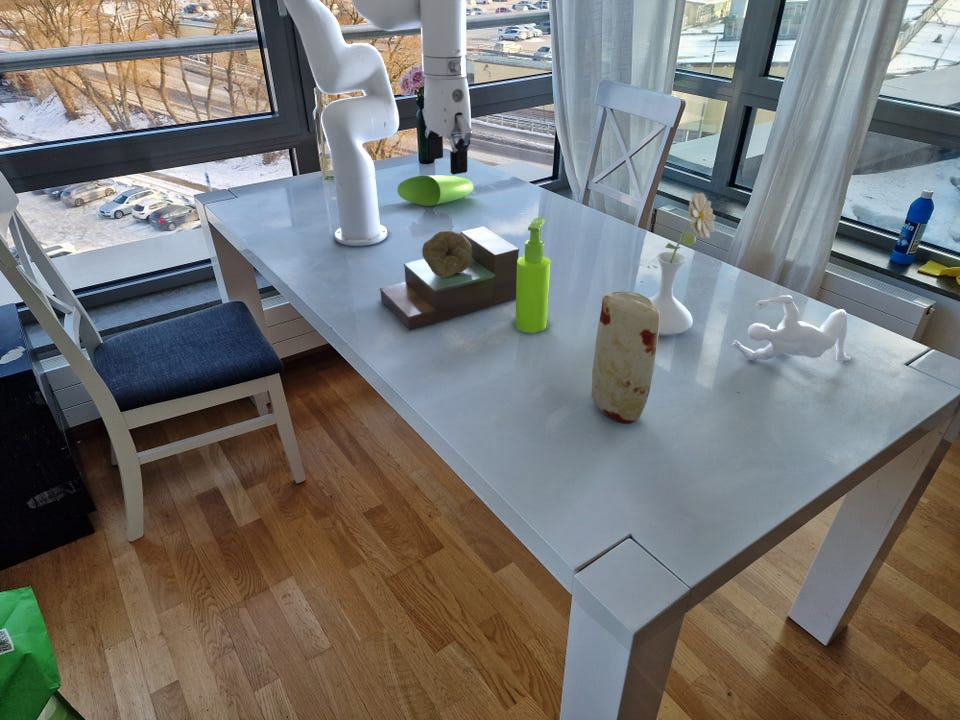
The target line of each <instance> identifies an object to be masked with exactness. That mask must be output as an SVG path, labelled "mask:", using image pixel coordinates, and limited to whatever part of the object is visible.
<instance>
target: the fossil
mask: <svg viewBox="0 0 960 720" xmlns="http://www.w3.org/2000/svg"><path fill="white" fill-rule="evenodd" d="M421 251H422V252H421V254H422V258H423V259H425V261H426V262H427V264H428V265H429V267H430V268H431V270H432V272H433V273H434V274H436V275H437V276H440V277H443V278H447V277H451V276H452V275H454V274H455V273H458V272H462V271H464V270H466V269H467V268H468V267H469V265H470V264H471V261H472V246H471V244H470V242H469V241H468V240H467V239H466V237H465V236H464V235H463V234H461V232H456V231H452V230H441V231H438V232H437V233H435V234H434V235H433V236H432V237H431V238H430V239H428V240H427V241H425V242H424V243H423V245H422V250H421Z"/></svg>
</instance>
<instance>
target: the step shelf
mask: <svg viewBox="0 0 960 720" xmlns="http://www.w3.org/2000/svg"><path fill="white" fill-rule="evenodd" d="M460 233H461V234H463V235H464V236H465V237H466V239H467V240H468V241H469V242H470V244H471V246H472V261H471V264H470V265H469V267H468V268H467V269H466V270H464V271H462V272H458V273H455V274H454V275H452V276H451V277H447V278H443V277H440V276H437V275H436V274H434V273H433V272H432V270H431V268H430V267H429V265H428V264H427V262H426V261H425V259H424V258H421V259H418V260H414V261H413V260H412V261H410V262H409V261H408V262H405V263H403V268H404V278H405V279H404V280H405V281H404V282H403V281H402V282H400V283H394V284H392V285H388V286H383V287H380V288H379V291H380V299H381V303H382V304H383V305H384V306H385V307H386V308H387V309H388V310H389V311H390V312H391V313H392V314H393V315H394V317H396V319H397V320H398V321H399V322H400V323H401V324H402V325H403V326H404V327H405V328H406V329H407V330H408V331H413V330H416V329H420V328H422V327H425V326H429V325H433V324H437V323H439V322H443V321H447V320H450V319H454V318H457V317H460V316H463V315H468V314H471V313H475V312H478V311H481V310H484V309H488V308H491V307H495V306H498V305H501V304H504V303H509V302H512V301H516V284H517V260H518V258H519V255H520V254H519V252H520V248H519V247H517V246H515V244H512V243H511V242H509V241H507V240H506V239H504V238H503V237H502V236H500V235H498V234H497V233H495V232H493V231H492V230H490V229H489V228H487V227H485V226H484V225H483V226H480V227H475V228H470V229H466V230H461V231H460Z"/></svg>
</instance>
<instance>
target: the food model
mask: <svg viewBox="0 0 960 720" xmlns="http://www.w3.org/2000/svg"><path fill="white" fill-rule="evenodd" d="M648 298H649V297H646V296H644V295H642V294H640V293H636V292H631V291H615V292H612V293H609V294H604V295H603V296H602V300H601V307H600V309H601V310H600V314H599V320H598V324H597V329H596V337H595V347H594V356H593V362H592V363H593V364H592V371H591V373H592V374H591V392H590V395H591V398H592V400H593V402H594V404H595V406H596V407H597V408H598V409H599V410H600V412H601V413H603V414H604V415H605V416H607V417H608V418H610V419H612V420H614V421H615V422H618V423H621V424H625V425H629V424H632V423H634V422H637V421H638V420H639V419H640V418H641V416H642V414H643V412H644V409H645V407H646V405H647V402H648V400H649V399H648V398H649V395H650V391H651V386H652V381H653V375H654V369H655V364H656V356H657V350H658V341H659V335H658V334H659V323H660V313H659V310H658V309H657V308H656V307H654V306H653V305H652V303H651V301H650V299H648Z"/></svg>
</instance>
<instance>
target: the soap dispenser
mask: <svg viewBox="0 0 960 720" xmlns="http://www.w3.org/2000/svg"><path fill="white" fill-rule="evenodd" d="M546 222H547V219H546V218H541V217H535V218H533V219H532V220H531V222H530V223H529V225H528V226H527V231H529V238H528V239H527V240H525V241H524V254H523V255H521V256H520V257H518V260H517V284H516V300H515V319H514V325H515V327H516V329H517V330H519V331H521V332H524V333H529V334H531V333H532V334H534V333H535V334H536V333H540V332H542V331H544V330H545V329H546V328H547V325H548V323H547V322H548V308H549V307H548V305H549V291H550V277H551V259H550V258H549V257H547V256H545V242H544V240H542V239H541V229H542V228H543V226H544V224H545V223H546Z"/></svg>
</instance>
